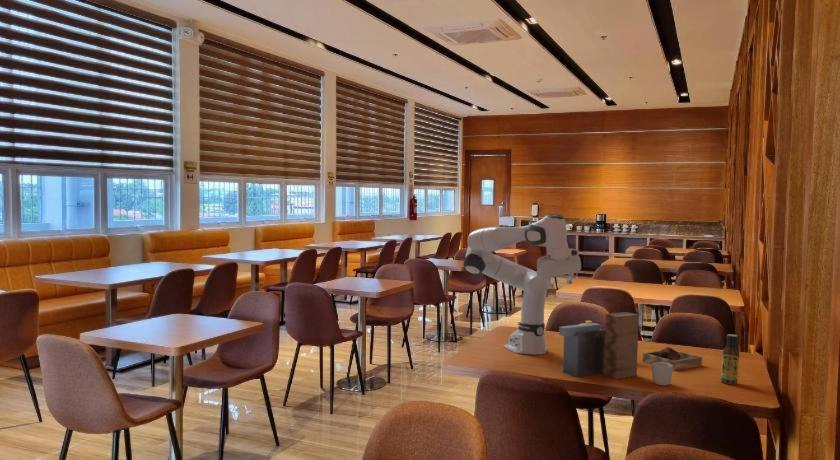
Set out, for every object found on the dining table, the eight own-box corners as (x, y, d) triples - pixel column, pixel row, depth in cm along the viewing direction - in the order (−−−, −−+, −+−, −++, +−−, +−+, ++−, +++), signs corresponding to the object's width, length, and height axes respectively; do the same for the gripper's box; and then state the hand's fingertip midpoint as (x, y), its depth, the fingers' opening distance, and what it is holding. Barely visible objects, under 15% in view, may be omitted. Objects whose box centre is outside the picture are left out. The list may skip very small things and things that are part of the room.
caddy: (642, 361, 296) (642, 353, 296) (670, 357, 305) (670, 349, 305) (673, 370, 281) (673, 361, 281) (701, 365, 291) (702, 356, 290)
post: (603, 375, 272) (605, 314, 270) (623, 371, 278) (625, 312, 276) (616, 379, 266) (618, 316, 264) (636, 375, 272) (638, 314, 270)
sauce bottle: (719, 383, 262) (721, 335, 261) (721, 380, 267) (723, 332, 266) (737, 386, 259) (739, 337, 258) (738, 382, 264) (740, 334, 263)
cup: (644, 379, 266) (645, 360, 266) (663, 379, 267) (664, 360, 267) (656, 386, 256) (657, 367, 255) (675, 386, 256) (676, 367, 256)
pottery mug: (658, 359, 303) (668, 345, 301) (675, 372, 297) (685, 357, 295) (649, 357, 293) (659, 343, 292) (667, 370, 287) (677, 355, 286)
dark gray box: (563, 372, 275) (564, 329, 274) (592, 367, 284) (594, 326, 283) (577, 377, 268) (578, 333, 267) (607, 372, 277) (608, 329, 276)
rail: (559, 335, 270) (559, 326, 269) (594, 330, 280) (594, 322, 279) (564, 336, 267) (565, 328, 266) (599, 332, 277) (600, 324, 276)
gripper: (541, 258, 258) (544, 292, 260) (582, 250, 266) (584, 282, 268) (532, 256, 264) (535, 289, 266) (572, 248, 272) (575, 280, 274)
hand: (560, 285), depth 267 cm, fingers open, 8 cm apart
